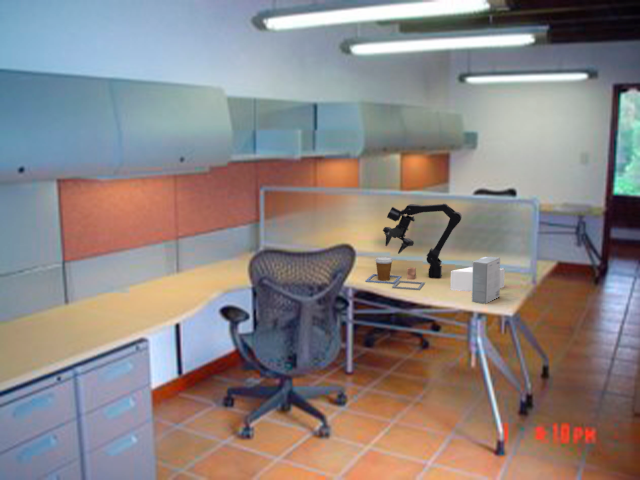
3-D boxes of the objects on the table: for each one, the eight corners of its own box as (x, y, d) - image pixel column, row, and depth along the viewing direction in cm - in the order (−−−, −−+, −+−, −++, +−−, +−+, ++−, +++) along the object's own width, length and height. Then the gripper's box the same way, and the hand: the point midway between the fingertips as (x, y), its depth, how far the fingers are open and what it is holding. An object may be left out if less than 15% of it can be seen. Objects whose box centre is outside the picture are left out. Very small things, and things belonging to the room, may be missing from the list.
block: (415, 278, 353) (415, 267, 352) (414, 279, 350) (414, 269, 349) (408, 277, 355) (408, 267, 354) (407, 279, 351) (407, 268, 350)
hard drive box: (485, 295, 316) (486, 255, 313) (499, 297, 312) (501, 257, 308) (471, 301, 305) (472, 261, 301) (485, 304, 300) (487, 263, 296)
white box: (509, 291, 324) (510, 271, 322) (455, 293, 320) (455, 274, 318) (498, 284, 338) (499, 265, 336) (445, 286, 334) (446, 267, 332)
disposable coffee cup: (373, 281, 347) (373, 259, 345) (377, 277, 356) (377, 256, 354) (390, 282, 345) (390, 260, 342) (393, 278, 354) (394, 257, 351)
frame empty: (424, 283, 340) (424, 282, 340) (419, 290, 327) (419, 288, 327) (398, 281, 345) (398, 280, 345) (392, 288, 332) (392, 286, 331)
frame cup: (401, 277, 355) (401, 275, 355) (394, 284, 340) (394, 282, 340) (373, 275, 361) (373, 273, 361) (365, 281, 346) (365, 280, 345)
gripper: (383, 217, 354) (372, 242, 359) (409, 232, 344) (397, 257, 348) (393, 218, 363) (382, 242, 367) (419, 232, 353) (407, 257, 357)
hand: (392, 249), depth 360 cm, fingers open, 9 cm apart
